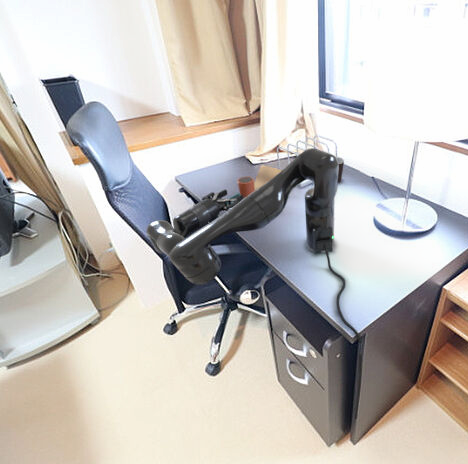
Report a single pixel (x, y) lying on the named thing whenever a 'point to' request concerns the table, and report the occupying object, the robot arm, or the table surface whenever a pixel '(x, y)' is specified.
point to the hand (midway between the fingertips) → (234, 194)
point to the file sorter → (304, 150)
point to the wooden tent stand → (265, 175)
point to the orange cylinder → (246, 186)
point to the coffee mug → (340, 168)
